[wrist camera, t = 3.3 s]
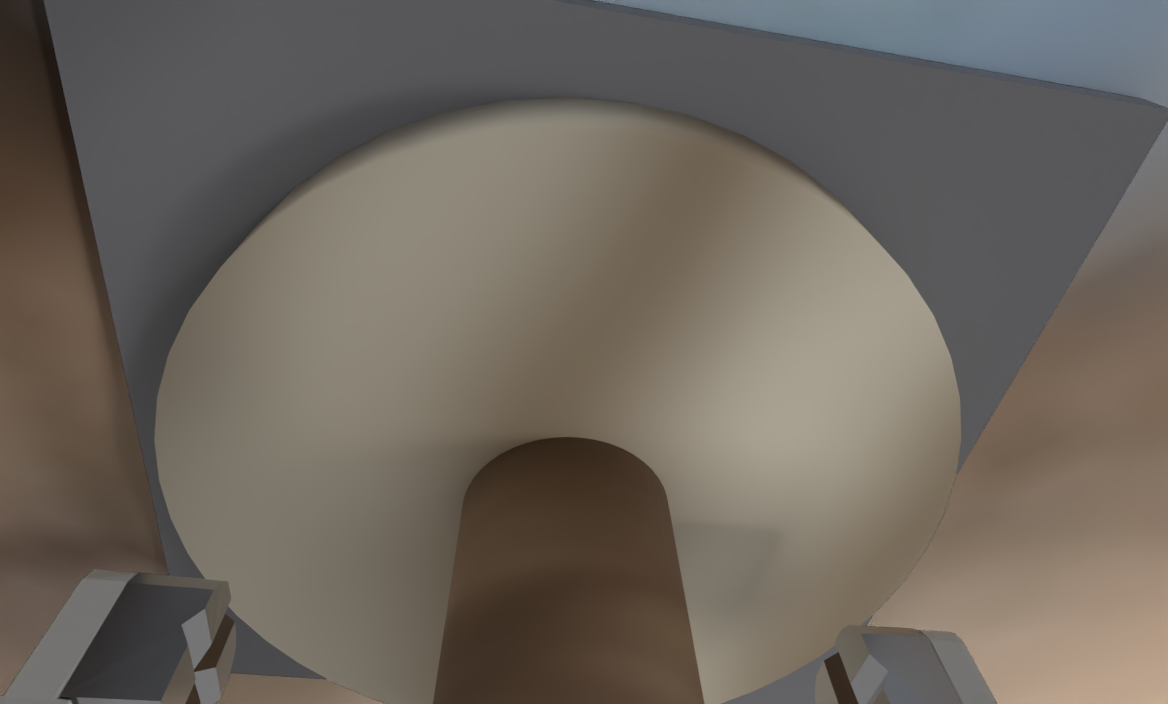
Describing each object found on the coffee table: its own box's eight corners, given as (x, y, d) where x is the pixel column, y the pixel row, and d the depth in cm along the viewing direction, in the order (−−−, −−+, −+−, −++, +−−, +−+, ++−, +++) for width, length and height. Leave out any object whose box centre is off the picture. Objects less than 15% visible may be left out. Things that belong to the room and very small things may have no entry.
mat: (1142, 99, 10) (1173, 110, 10) (808, 687, 18) (815, 711, 17) (56, -96, 8) (23, -93, 8) (201, 645, 16) (189, 669, 15)
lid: (1061, 169, 10) (1582, 464, 5) (790, 683, 16) (895, 1041, 11) (134, 24, 9) (-463, 229, 4) (235, 647, 15) (73, 1034, 10)
